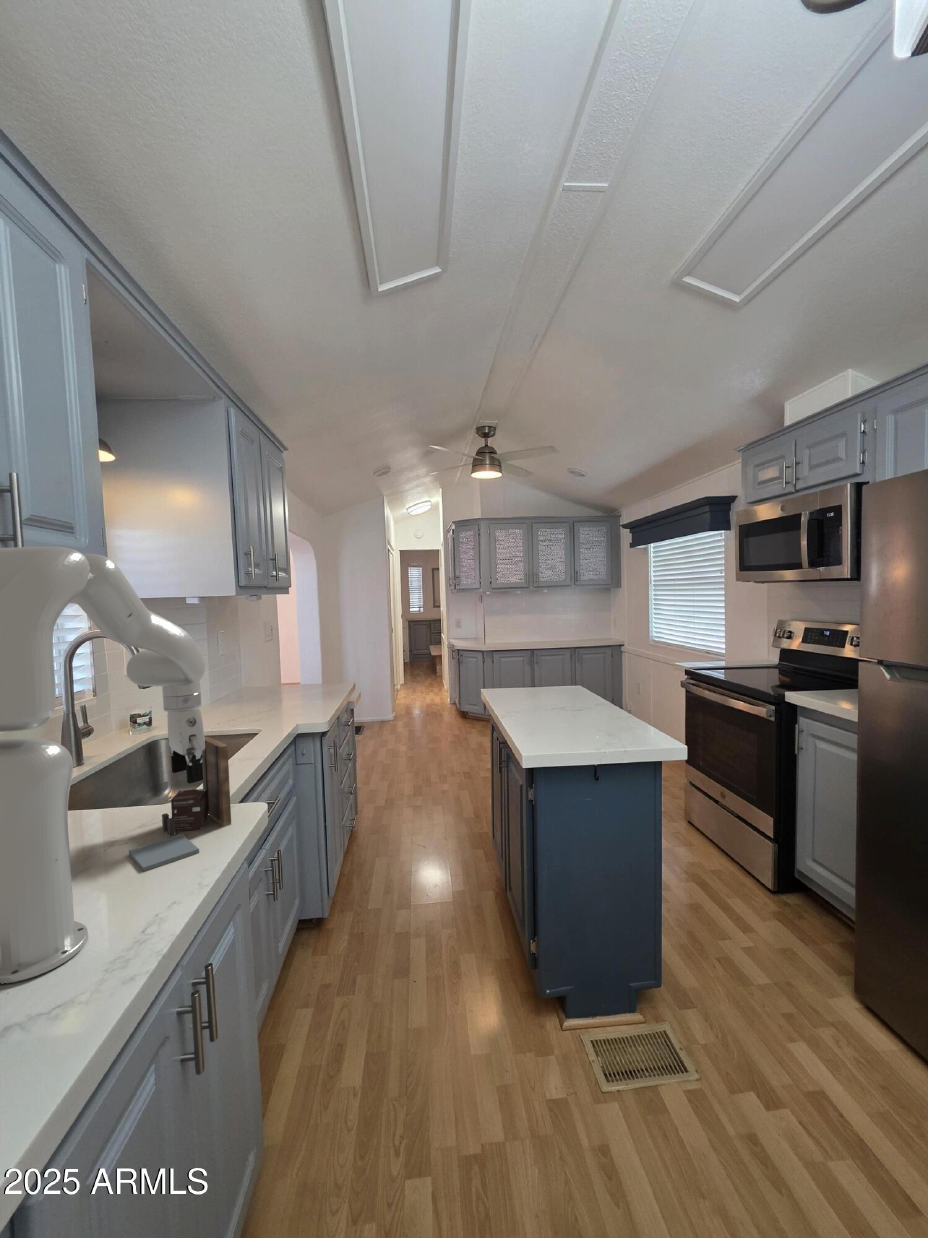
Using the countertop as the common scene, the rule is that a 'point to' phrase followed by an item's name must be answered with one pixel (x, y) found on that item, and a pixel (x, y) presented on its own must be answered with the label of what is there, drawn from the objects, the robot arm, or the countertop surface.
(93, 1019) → the countertop surface
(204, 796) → the box
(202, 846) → the countertop surface
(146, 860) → the mat
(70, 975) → the countertop surface
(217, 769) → the brown upright panel
